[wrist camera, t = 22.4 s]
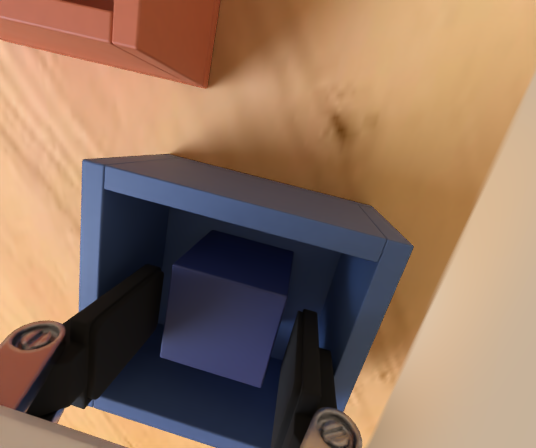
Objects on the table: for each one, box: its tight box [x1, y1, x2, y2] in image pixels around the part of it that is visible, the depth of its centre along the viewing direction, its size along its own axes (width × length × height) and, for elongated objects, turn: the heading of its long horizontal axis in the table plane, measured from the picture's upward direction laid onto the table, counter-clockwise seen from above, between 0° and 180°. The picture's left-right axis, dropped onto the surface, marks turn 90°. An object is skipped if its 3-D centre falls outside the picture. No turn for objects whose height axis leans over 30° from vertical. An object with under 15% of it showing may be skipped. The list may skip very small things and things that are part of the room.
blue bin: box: [79, 154, 414, 448], centre depth 13 cm, size 11×11×6 cm
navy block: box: [160, 230, 294, 388], centre depth 13 cm, size 4×4×4 cm
